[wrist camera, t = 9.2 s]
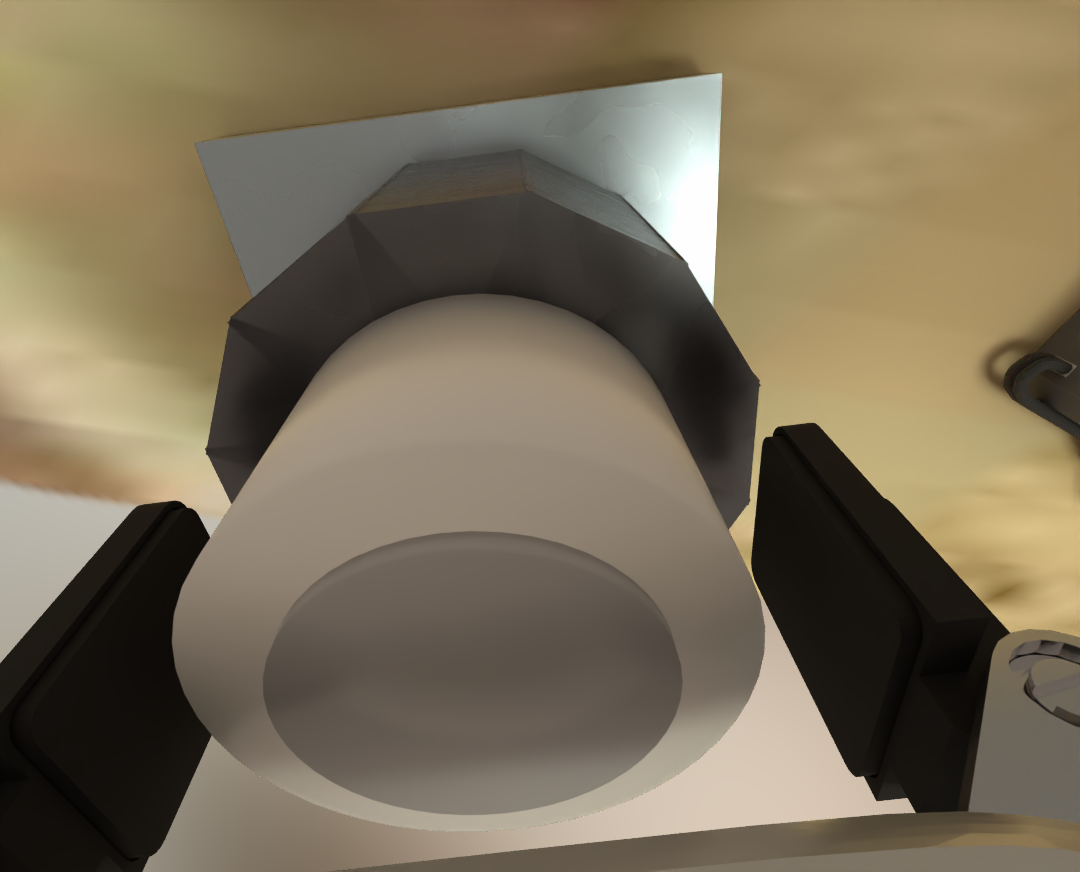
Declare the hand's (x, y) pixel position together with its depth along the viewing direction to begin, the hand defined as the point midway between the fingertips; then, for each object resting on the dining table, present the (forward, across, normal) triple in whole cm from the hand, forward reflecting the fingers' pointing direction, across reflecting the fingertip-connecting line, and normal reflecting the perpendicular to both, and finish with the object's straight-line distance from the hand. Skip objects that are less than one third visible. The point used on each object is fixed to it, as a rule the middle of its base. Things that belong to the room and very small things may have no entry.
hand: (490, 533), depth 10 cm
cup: (+5, 0, 0) cm, 5 cm away
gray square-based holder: (+9, 0, 0) cm, 9 cm away
